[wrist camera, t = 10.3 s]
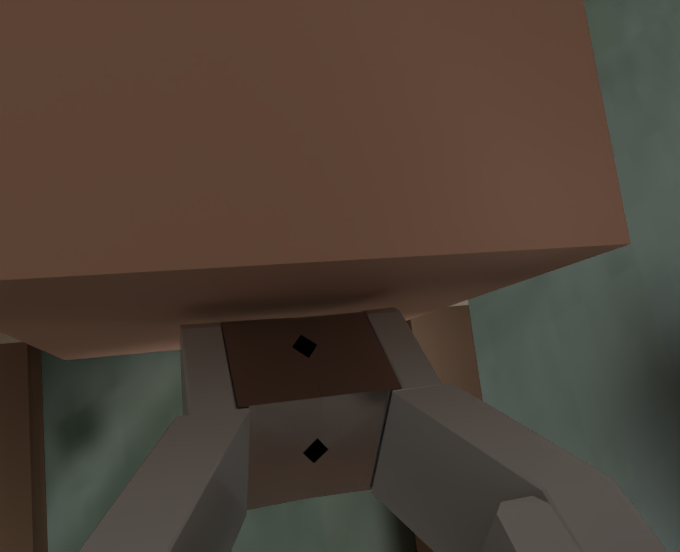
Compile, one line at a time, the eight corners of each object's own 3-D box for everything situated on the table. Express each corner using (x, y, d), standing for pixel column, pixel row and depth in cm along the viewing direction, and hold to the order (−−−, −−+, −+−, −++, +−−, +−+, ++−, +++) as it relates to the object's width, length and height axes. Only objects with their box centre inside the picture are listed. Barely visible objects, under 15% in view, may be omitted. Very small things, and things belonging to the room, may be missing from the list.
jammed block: (337, 31, 17) (515, -350, 8) (374, 331, 16) (629, 244, 7) (50, 17, 15) (-101, -499, 6) (64, 360, 14) (-105, 286, 5)
